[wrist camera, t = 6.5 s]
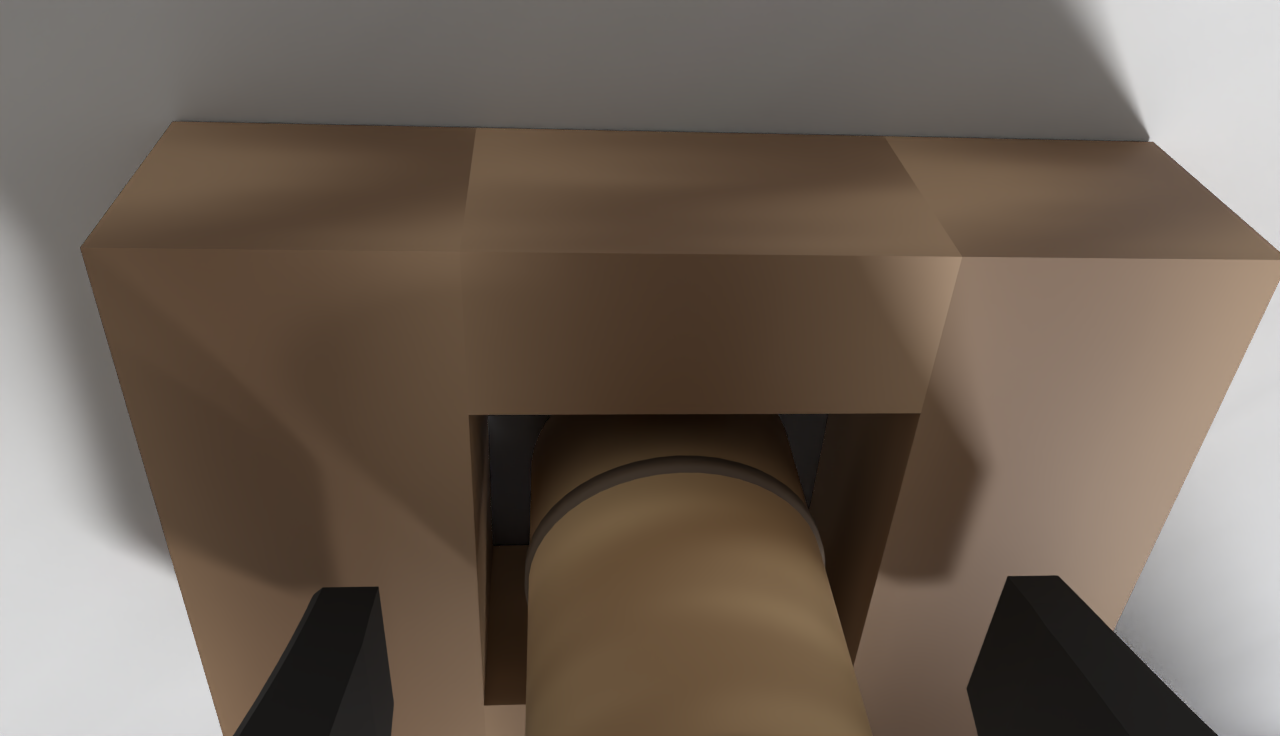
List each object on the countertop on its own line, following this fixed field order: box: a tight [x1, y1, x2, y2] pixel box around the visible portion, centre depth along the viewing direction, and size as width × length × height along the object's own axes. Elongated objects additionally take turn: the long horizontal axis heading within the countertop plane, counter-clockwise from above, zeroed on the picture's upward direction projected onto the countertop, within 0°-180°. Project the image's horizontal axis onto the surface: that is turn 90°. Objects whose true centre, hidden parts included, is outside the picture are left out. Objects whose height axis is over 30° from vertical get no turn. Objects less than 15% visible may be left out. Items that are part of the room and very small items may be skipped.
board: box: [80, 121, 1280, 736], centre depth 14 cm, size 12×9×3 cm
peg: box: [525, 414, 873, 736], centre depth 13 cm, size 4×4×6 cm
